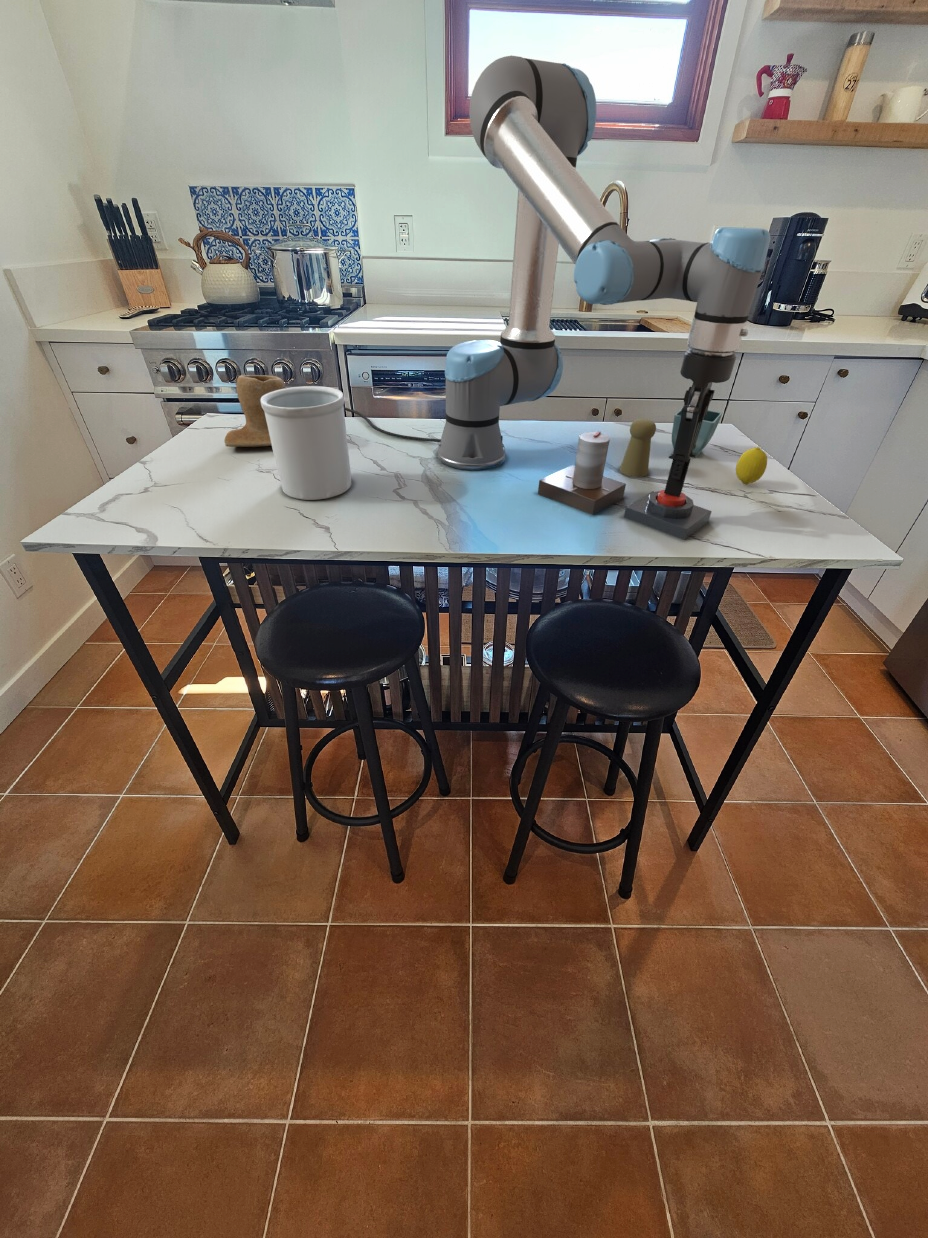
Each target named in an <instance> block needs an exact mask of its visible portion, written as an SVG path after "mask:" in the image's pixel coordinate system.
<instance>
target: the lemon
mask: <svg viewBox="0 0 928 1238" xmlns="http://www.w3.org/2000/svg"><path fill="white" fill-rule="evenodd" d="M767 467H768V455H767V454H766V453H765V450H763V449H761V448H760V446H756V447H752V448H749V449H747V450H746V451H744V452H743V453H742V454H741V455H740V457H739V459H738V460H737V463H736V466H735V475H736V478H737V479H738V481H740V482H741V483H742V484H743V485H744V486H746V485H748V484H752V483H755V482H757V481H759V480H760V479H761V478H762V477H763V476H764V475H765V472H766V470H767Z"/></svg>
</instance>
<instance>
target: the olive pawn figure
mask: <svg viewBox="0 0 928 1238" xmlns="http://www.w3.org/2000/svg"><path fill="white" fill-rule="evenodd" d="M656 431H657V425H656V422H654V421H653V420H650V419H648V418H647V419H645V418H638V419H635V420H633V421H632V423H631V425H630V427H629V434H630V439H629V441H628V445H627V448H626V450H625V453H624V455H623V459H622V462H621V465H620V468H619V472H620V473H621V474H623V475H625V476H627V477H633V478H642V477H646V476H647V475H648V474H649V465H650V456H651V455H650V453H651V445H652V444H651V443H652V438H653V437H654V436H655V434H656Z"/></svg>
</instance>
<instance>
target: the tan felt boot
mask: <svg viewBox="0 0 928 1238" xmlns="http://www.w3.org/2000/svg"><path fill="white" fill-rule="evenodd" d="M280 389H286V384H285V381H284V380H283V379H282V378H281V377H278V376H275V375H268V374H267V375H266V374H265V375H264V374H262V375H261V374H247V375H245V374H241V375H238V377H237V379H236V389H235V390H236V394H237V399H238V401H239V404H240V407H241V409H242V412H243V415H244V418H245V425H244V426H243V427H241V428H236V429H232V430H229V431H228V432H226V435H225V436H224V441H223V442H224V446H225V447H227V448H228V447H229V448H250V447H251V448H252V447H253V448H256V447H258V448H259V447H272V444H271V439H270V435H269V430H268V426H267V421H266V417H265V412H264V410H263V408H262V406H261V401H260V400H261V397H262V396H264V395H265V394H267V393H270V392H273V391H276V390H280Z"/></svg>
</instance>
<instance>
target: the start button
mask: <svg viewBox="0 0 928 1238" xmlns="http://www.w3.org/2000/svg"><path fill="white" fill-rule="evenodd" d="M659 491H660V492H659V494H658V498H657V501H658V502H660V503H662V504H664V505H667V506H674V507H678V506H684V504H685V500H686V496H687V495H686V493H684V492H683V491H682V492H681V494H680V496H674V495H670V494H665V493H664V491H665V489H661V490H659Z"/></svg>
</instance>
